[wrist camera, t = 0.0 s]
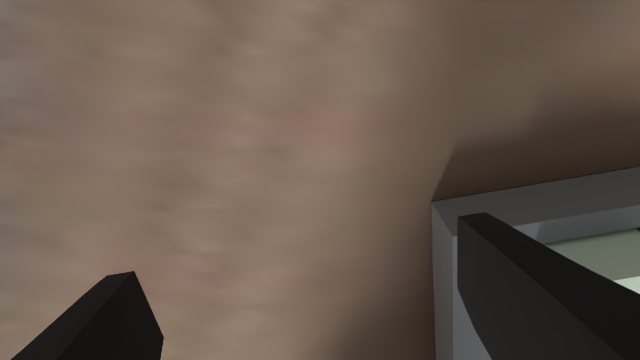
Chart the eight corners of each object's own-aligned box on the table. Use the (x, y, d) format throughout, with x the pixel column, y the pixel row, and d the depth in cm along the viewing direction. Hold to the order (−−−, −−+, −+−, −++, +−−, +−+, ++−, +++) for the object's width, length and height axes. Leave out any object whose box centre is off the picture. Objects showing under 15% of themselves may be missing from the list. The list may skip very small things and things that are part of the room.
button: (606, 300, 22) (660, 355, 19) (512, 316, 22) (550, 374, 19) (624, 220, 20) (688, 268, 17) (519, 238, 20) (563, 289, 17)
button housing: (612, 387, 29) (646, 430, 26) (437, 417, 29) (453, 463, 26) (670, 161, 21) (727, 190, 18) (430, 201, 21) (452, 236, 18)
